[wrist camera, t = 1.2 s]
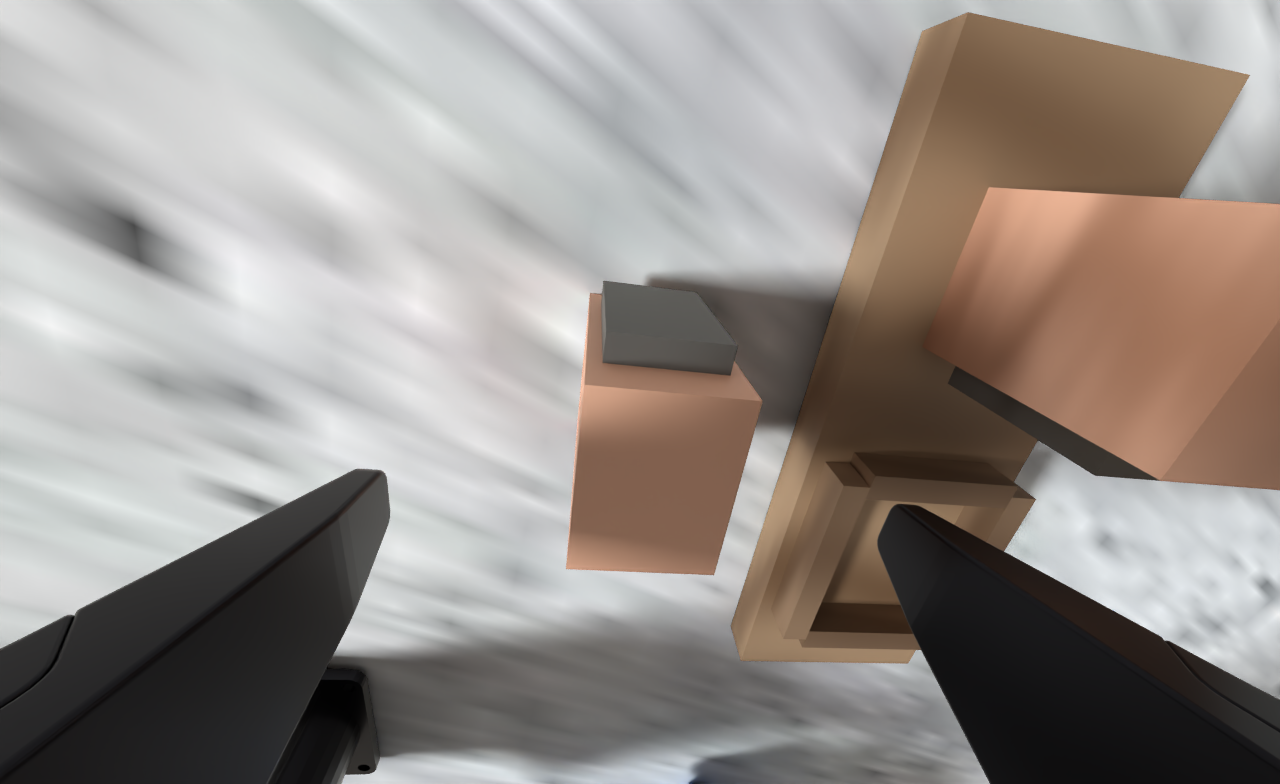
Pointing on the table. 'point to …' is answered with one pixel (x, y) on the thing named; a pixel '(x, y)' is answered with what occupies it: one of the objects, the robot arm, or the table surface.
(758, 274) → the table surface
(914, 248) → the rail
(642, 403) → the salmon and grey block
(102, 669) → the robot arm
